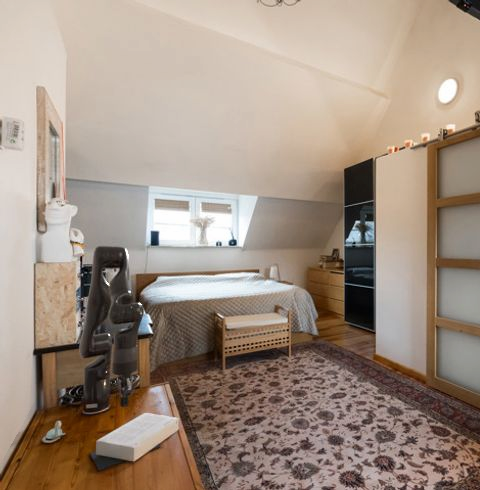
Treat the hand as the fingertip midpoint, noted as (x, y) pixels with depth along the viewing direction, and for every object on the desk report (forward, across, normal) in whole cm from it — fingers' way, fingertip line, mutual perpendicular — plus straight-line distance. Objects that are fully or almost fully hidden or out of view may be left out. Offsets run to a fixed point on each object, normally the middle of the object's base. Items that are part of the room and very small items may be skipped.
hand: (124, 405), depth 126 cm
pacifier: (+16, +25, +16) cm, 34 cm away
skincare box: (+13, +6, -1) cm, 14 cm away
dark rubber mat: (+16, -3, 0) cm, 16 cm away
